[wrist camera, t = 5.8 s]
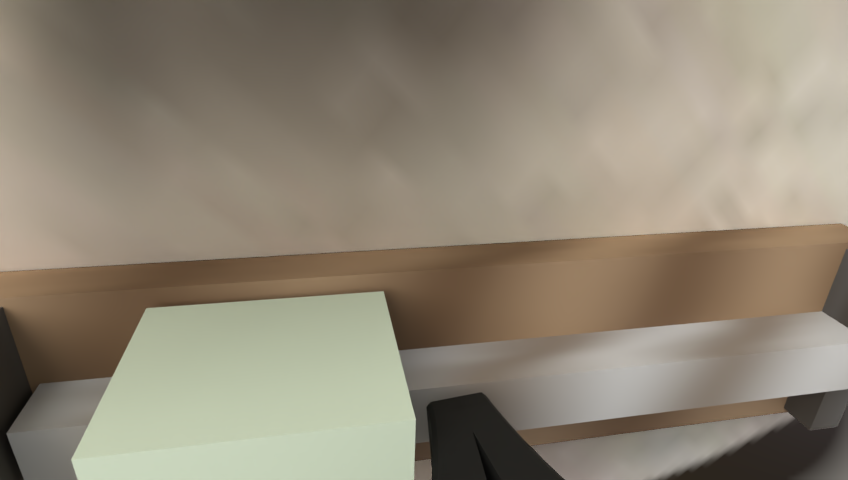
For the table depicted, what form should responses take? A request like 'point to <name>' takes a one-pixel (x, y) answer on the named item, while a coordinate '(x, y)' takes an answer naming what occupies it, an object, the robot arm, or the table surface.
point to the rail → (482, 331)
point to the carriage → (256, 395)
